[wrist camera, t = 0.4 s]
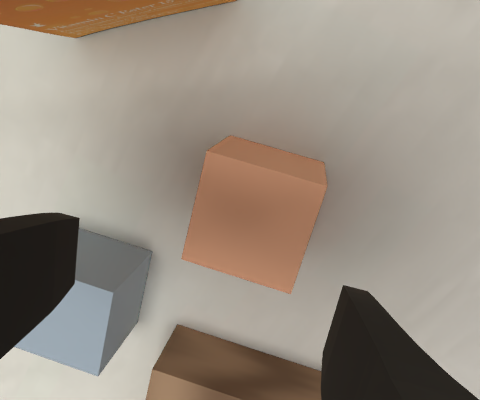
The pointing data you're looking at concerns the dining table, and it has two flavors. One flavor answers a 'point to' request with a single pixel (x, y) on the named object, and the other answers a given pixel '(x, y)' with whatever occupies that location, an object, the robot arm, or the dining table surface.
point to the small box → (89, 13)
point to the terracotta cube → (255, 212)
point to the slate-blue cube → (94, 305)
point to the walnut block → (226, 372)
